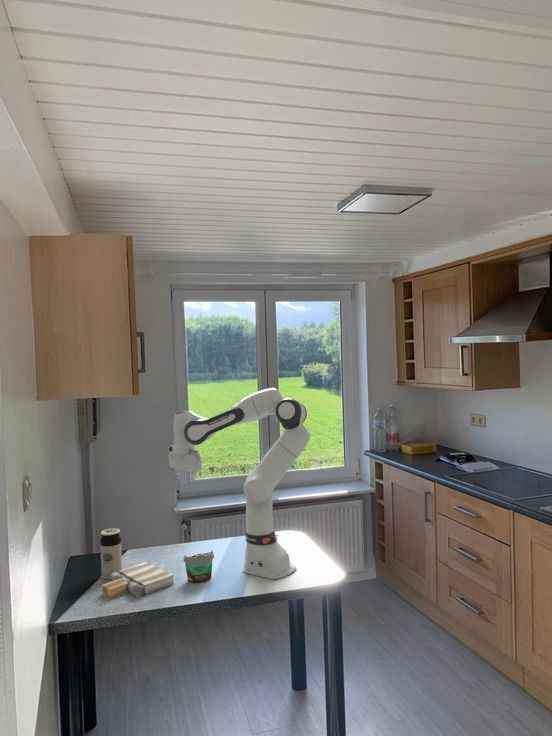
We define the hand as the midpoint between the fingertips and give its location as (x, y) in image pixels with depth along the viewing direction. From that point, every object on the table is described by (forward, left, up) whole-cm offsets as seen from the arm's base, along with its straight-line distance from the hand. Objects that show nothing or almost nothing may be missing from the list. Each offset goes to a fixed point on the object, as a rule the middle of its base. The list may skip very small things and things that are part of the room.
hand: (185, 480), depth 221 cm
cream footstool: (-7, +27, -34) cm, 44 cm away
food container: (-23, +10, -34) cm, 43 cm away
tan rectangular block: (-7, +36, -34) cm, 51 cm away
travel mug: (+9, +31, -34) cm, 47 cm away
